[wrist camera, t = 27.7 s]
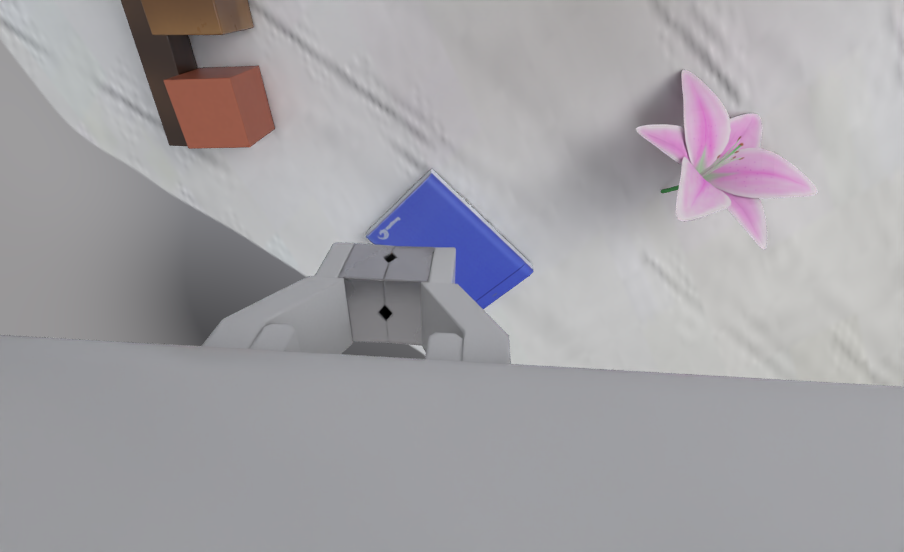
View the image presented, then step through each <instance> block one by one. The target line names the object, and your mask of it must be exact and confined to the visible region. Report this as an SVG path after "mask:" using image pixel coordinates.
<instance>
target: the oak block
mask: <svg viewBox="0 0 904 552" xmlns="http://www.w3.org/2000/svg"><path fill="white" fill-rule="evenodd" d="M141 3H142V6H143V9H144V12H145V15H146V17H147V20H148V23H149V26H150V29H151V32H152V34H153V35H223V34H228V33H232V32H236V31H241V30H245V29H249V28H253V22H252V17H251V13H250V9H249V4H248V0H141Z"/></svg>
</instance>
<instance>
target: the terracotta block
mask: <svg viewBox="0 0 904 552" xmlns="http://www.w3.org/2000/svg"><path fill="white" fill-rule="evenodd" d="M164 84H165V86H166V89H167V92H168V94H169V97H170V100H171V102H172V105H173V108H174V111H175V113H176V116H177V119H178V121H179V124H180V127H181V129H182V132H183V135H184V138H185V140H186V143H187V146H188V148H189V149H191V148H237V147H251V146H252V145H254V144H255V143H256V142H258V141H259V140H260V139H262V138H263V137H264V136H266V135H267V134H268V133H270V132H271V131H272V130H274V129H275V127H274V123H273V119H272V116H271V112H270V108H269V104H268V100H267V96H266V92H265V88H264V84H263V80H262V77H261V73H260V69H259V66H240V67H212V68H198V69H195V70H192V71H189V72H186V73H183V74H180V75H177V76H174V77H171V78H168V79H165V80H164Z"/></svg>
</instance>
